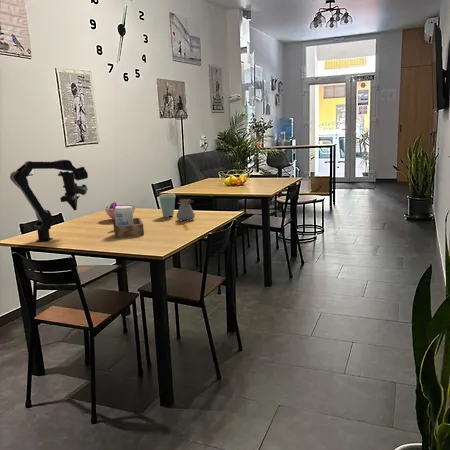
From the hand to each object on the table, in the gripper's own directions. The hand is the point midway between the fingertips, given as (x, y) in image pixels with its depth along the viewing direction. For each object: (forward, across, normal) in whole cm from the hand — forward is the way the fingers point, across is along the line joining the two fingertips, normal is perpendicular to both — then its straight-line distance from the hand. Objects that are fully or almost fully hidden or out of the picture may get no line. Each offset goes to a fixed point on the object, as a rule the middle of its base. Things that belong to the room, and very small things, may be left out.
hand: (75, 210), depth 248 cm
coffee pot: (+21, +25, -57) cm, 66 cm away
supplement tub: (+16, -2, -26) cm, 30 cm away
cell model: (+18, +37, -12) cm, 43 cm away
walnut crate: (+16, -1, -27) cm, 31 cm away
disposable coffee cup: (+21, +43, -42) cm, 64 cm away
